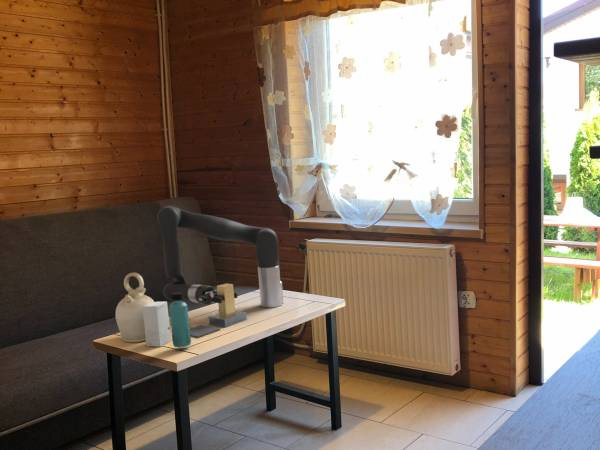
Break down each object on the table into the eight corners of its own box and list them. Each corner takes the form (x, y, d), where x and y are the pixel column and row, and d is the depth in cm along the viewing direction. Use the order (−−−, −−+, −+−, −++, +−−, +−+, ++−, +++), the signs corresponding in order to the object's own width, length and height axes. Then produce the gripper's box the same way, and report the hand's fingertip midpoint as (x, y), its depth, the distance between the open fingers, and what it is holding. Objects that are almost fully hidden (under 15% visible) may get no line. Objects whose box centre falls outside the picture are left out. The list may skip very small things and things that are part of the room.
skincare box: (160, 347, 229) (156, 306, 228) (145, 346, 231) (141, 306, 229) (171, 340, 237) (168, 300, 236) (157, 339, 239) (153, 300, 237)
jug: (138, 330, 254) (132, 267, 251) (168, 333, 246) (162, 269, 243) (109, 341, 241) (102, 276, 238) (139, 345, 233) (132, 277, 230)
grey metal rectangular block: (230, 317, 264) (230, 309, 264) (246, 319, 258) (246, 312, 258) (209, 324, 255) (208, 317, 255) (225, 327, 249) (224, 319, 249)
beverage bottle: (195, 347, 226) (190, 291, 224) (180, 352, 221) (174, 295, 219) (184, 344, 231) (179, 289, 228) (169, 349, 226) (163, 293, 223)
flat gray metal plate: (200, 326, 253) (200, 325, 253) (220, 330, 246) (220, 328, 246) (179, 334, 245) (178, 332, 245) (198, 337, 238) (198, 336, 238)
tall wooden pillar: (228, 312, 259) (226, 283, 258) (235, 313, 257) (233, 284, 255) (219, 315, 256) (216, 286, 254) (226, 316, 253) (223, 286, 252)
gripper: (187, 288, 259) (215, 292, 248) (213, 281, 270) (241, 284, 259) (188, 307, 260) (216, 311, 249) (215, 299, 271) (242, 303, 260)
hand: (229, 297), depth 254 cm, fingers open, 8 cm apart
